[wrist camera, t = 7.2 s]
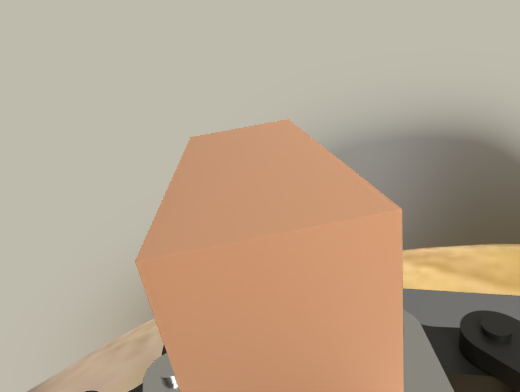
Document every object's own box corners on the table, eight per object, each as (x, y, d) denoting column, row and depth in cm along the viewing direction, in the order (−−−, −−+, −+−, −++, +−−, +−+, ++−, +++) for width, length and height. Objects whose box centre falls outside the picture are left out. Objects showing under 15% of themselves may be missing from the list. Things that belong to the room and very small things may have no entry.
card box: (281, 689, 8) (130, 262, 4) (255, 411, 15) (188, 137, 10) (407, 658, 8) (406, 208, 4) (325, 396, 15) (290, 119, 10)
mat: (337, 463, 21) (336, 457, 21) (357, 290, 36) (357, 285, 36) (870, 597, 14) (878, 590, 13) (620, 308, 28) (621, 302, 28)
